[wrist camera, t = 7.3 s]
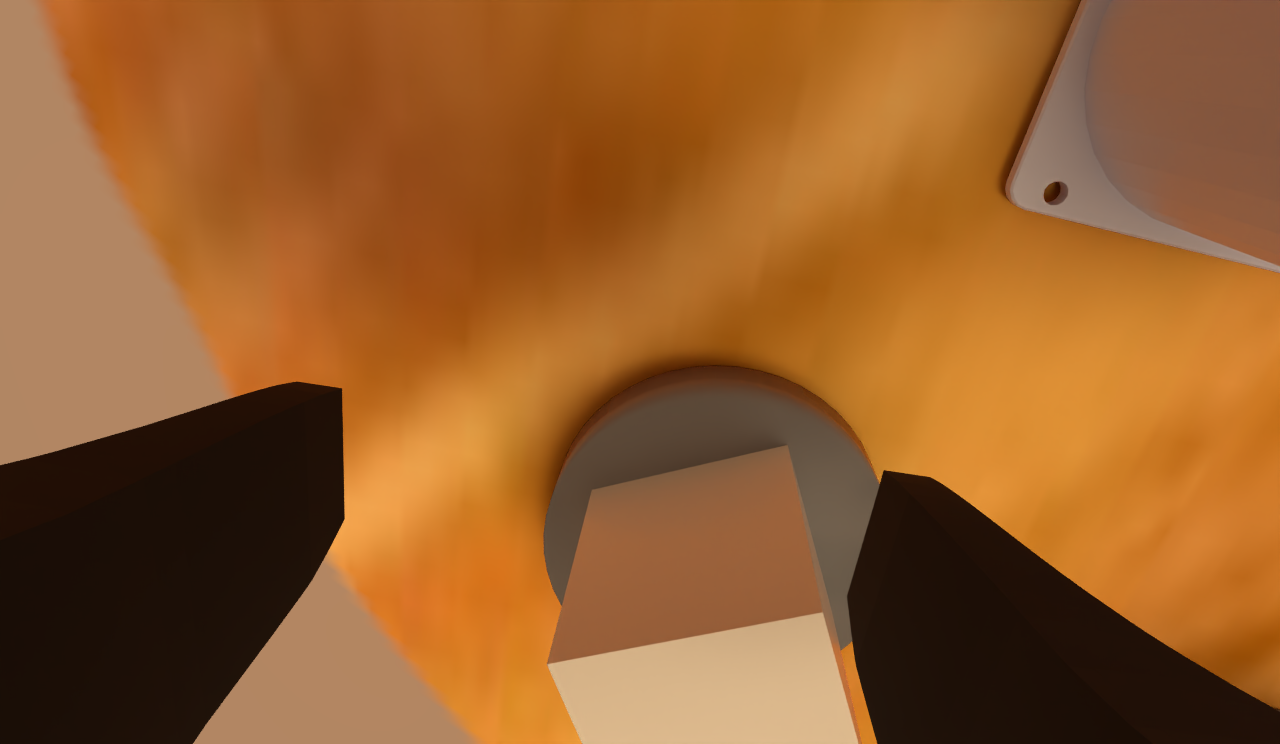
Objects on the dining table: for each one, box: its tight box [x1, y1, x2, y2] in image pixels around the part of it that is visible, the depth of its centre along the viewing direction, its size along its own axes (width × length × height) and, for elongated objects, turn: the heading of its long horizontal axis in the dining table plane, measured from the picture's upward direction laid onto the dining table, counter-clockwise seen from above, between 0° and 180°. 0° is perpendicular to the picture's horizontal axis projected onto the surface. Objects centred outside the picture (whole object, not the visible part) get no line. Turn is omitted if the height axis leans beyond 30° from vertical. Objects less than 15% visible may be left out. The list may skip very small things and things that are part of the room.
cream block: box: [547, 445, 862, 744], centre depth 17 cm, size 5×5×6 cm
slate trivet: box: [544, 366, 880, 650], centre depth 21 cm, size 9×9×2 cm
